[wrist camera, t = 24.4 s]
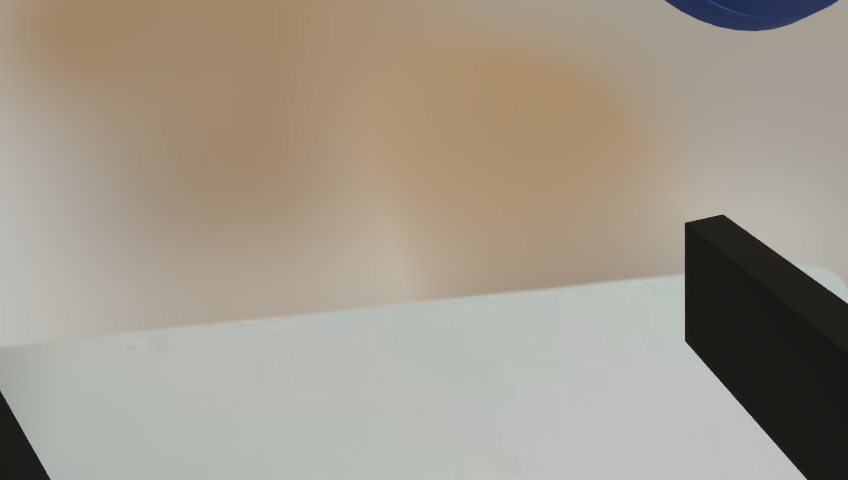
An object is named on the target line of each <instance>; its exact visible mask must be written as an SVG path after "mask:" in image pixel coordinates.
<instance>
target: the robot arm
mask: <svg viewBox="0 0 848 480" xmlns="http://www.w3.org/2000/svg"><path fill="white" fill-rule="evenodd" d="M685 341H686V343H687V344H688V345H689V346H690V347H691V348H692V349H693V350H694V352H695V353H696V354H697V355H698V356H699V357H700V358H701V360H702V361H703V362H704V363H705V364H706V365H707V366H708V368H709V369H710V370H711V371H712V372H713V373H714V374H715V375H716V377H717V378H718V379H719V380H720V381H721V382H722V383H723V385H724V386H725V387H726V388H727V389H728V390H729V391H730V392H731V394H732V395H733V396H734V397H735V398H736V399H737V400H738V402H739V403H740V404H741V405H742V406H743V407H744V408H745V410H746V411H747V412H748V413H749V414H750V415H751V416H752V417H753V419H754V420H755V421H756V422H757V423H758V424H759V425H760V427H761V428H762V429H763V430H764V431H765V432H766V433H767V434H768V436H769V437H770V438H771V439H772V440H773V441H774V442H775V444H776V445H777V446H778V447H779V448H780V449H781V450H782V452H783V453H784V454H785V455H786V456H787V457H788V458H789V459H790V461H791V462H792V463H793V464H794V465H795V466H796V467H797V469H798V470H799V471H800V472H801V473H802V474H803V475H804V477H805V478H806V479H807V480H848V304H847V303H846V302H845V301H843V300H842V299H840V298H839V297H838V296H836V295H835V294H833V293H832V292H831V291H829V290H828V289H826V288H825V287H824V286H822V285H821V284H819V283H818V282H817V281H815V280H814V279H812V278H811V277H810V276H808V275H807V274H806V273H804V272H803V271H801V270H800V269H799V268H797V267H796V266H794V265H793V264H792V263H790V262H789V261H787V260H786V259H785V258H783V257H782V256H780V255H779V254H778V253H776V252H775V251H773V250H772V249H770V248H769V247H768V246H766V245H765V244H763V243H762V242H761V241H759V240H758V239H757V238H755V237H754V236H752V235H751V234H750V233H748V232H747V231H745V230H744V229H742V228H741V227H740V226H738V225H737V224H736V223H734V222H733V221H731V220H730V219H729V218H727V217H726V216H724V215H719V216H714V217H709V218H705V219H701V220H696V221H691V222H687V223H685ZM0 480H50V478H49V476H48V475H47V473H46V471H45V469H44V467H43V466H42V464H41V462H40V460H39V459H38V457H37V455H36V453H35V452H34V450H33V448H32V446H31V444H30V443H29V441H28V439H27V437H26V436H25V434H24V432H23V430H22V428H21V427H20V425H19V423H18V421H17V420H16V418H15V416H14V414H13V413H12V411H11V409H10V407H9V405H8V404H7V402H6V400H5V398H4V397H3V395H2V393H1V391H0Z"/></svg>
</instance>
